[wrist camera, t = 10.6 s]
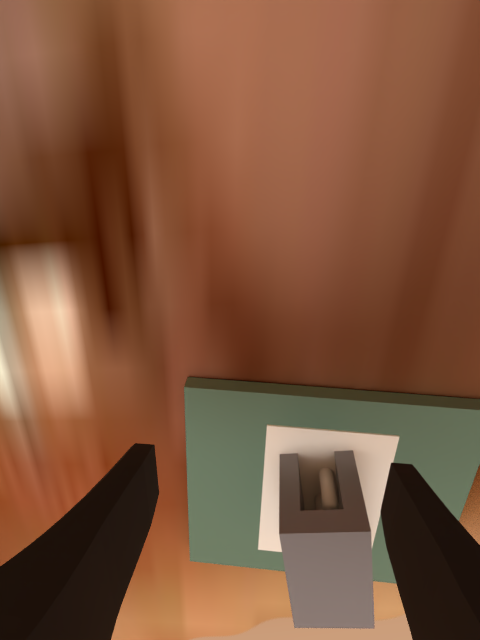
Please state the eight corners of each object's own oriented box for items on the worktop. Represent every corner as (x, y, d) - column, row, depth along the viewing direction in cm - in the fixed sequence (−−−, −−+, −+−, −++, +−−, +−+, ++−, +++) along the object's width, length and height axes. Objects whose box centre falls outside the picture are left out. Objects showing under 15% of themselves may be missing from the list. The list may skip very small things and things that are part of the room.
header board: (489, 399, 21) (525, 446, 18) (429, 572, 27) (448, 630, 24) (188, 376, 23) (172, 417, 19) (193, 547, 28) (181, 599, 25)
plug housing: (352, 450, 22) (371, 531, 18) (357, 538, 25) (374, 628, 21) (279, 454, 23) (279, 533, 18) (292, 540, 26) (294, 627, 21)
